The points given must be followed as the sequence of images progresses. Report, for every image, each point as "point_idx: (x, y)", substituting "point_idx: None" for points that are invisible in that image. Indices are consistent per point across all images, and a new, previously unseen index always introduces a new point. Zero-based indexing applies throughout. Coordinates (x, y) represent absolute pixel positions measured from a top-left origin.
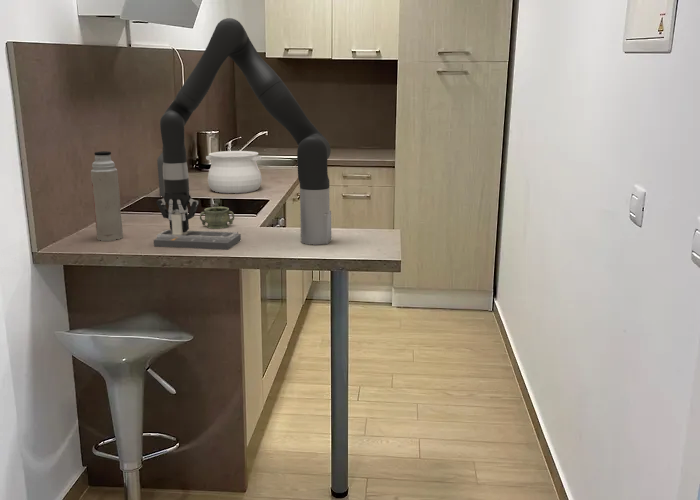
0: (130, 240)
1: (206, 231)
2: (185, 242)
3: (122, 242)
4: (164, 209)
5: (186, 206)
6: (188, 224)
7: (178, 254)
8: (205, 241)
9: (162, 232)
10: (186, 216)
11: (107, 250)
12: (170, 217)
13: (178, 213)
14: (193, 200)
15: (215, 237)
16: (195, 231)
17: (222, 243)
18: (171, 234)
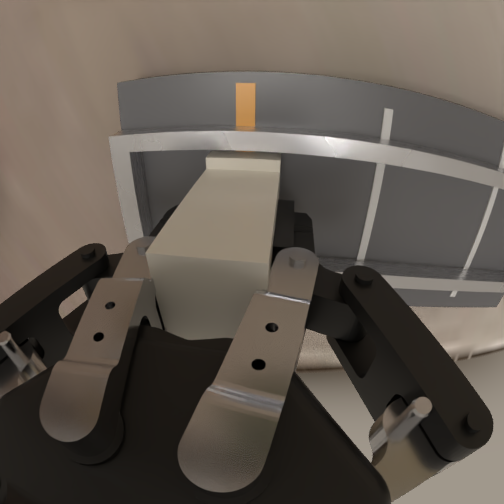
0: (25, 183)
1: (426, 165)
2: None
3: (26, 217)
4: (71, 338)
5: (307, 388)
6: (313, 238)
7: (317, 354)
8: (420, 295)
9: (132, 219)
10: (312, 324)
11: (68, 310)
12: (157, 309)
13: (204, 308)
14: (420, 480)
15: (469, 288)
16: (345, 157)
17: (480, 305)
18: (166, 157)
